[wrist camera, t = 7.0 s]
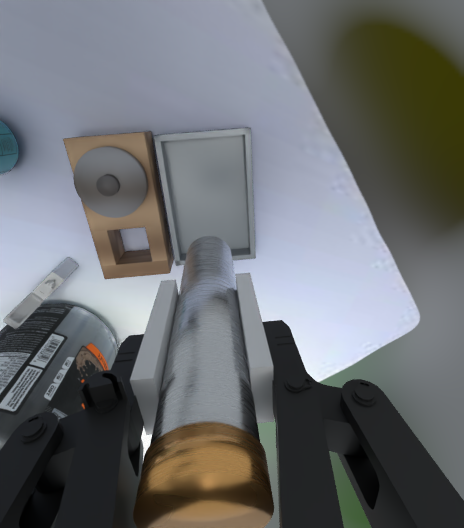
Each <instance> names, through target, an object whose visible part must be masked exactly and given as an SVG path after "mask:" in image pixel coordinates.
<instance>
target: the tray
mask: <svg viewBox="0 0 464 528" xmlns="http://www.w3.org/2000/svg"><path fill="white" fill-rule="evenodd" d="M154 141H155V147H156V153H157V159H158V164H159V170H160V176H161V182H162V188H163V193H164V199H165V205H166V211H167V216H168V222H169V228H170V234H171V240H172V245H173V251H174V257H175V263H176V266H177V265H185V260H186V255H187V250H188V248H189V246H190V245H191V243H192V242H194V241H195V240H196V239H198V238H200V237H204V236H214V237H218V238H220V239H222V240H223V241H225V242H226V243H227V245H228V246H229V248H230V250H231V254H232V260H243V259H254V258H256V256H255V230H254V205H253V179H252V154H251V128H235V129H223V130H210V131H198V132H185V133H173V134H160V135H155V136H154Z"/></svg>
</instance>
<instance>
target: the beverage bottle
mask: <svg viewBox="0 0 464 528" xmlns="http://www.w3.org/2000/svg"><path fill="white" fill-rule="evenodd" d="M18 155H19V150H18V144H17V141H16V139H15V137H14V135H13V133H12V132H11V130H10V129H9V128H8V127H7V126H6V125H5V124H4V123H3V122H2V121H1V120H0V174H3V173H5V172H7V171H9V170H10V169H11V168H12V167H13V166H14V165H15V164H16V162H17V159H18ZM10 171H11V170H10Z"/></svg>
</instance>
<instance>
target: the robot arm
mask: <svg viewBox="0 0 464 528" xmlns="http://www.w3.org/2000/svg"><path fill="white" fill-rule="evenodd" d="M236 288H237V296H238V303H239V310H240V316H241V323H242V330H243V337H244V343H245V350H246V357H247V363H248V370H249V377H250V384H251V390H252V393H253V399H254V406H255V412H256V419H257V423H263V422H273V421H274V418H275V422H276V448H277V470H278V496H279V522H280V528H344V527H343V521H342V516H341V511H340V506H339V500H338V495H337V490H336V485H335V480H334V475H333V470H332V465H331V460H330V455H329V451H332V452H337V454H338V456H339V458H340V460H341V462H342V465H343V467H344V469H345V471H346V473H347V475H348V477H349V480H350V482H351V484H352V486H353V488H354V490H355V492H356V495H357V497H358V499H359V501H360V503H361V506H362V508H363V510H364V512H365V514H366V516H367V518H368V521H369V523H370V525H371V527H372V528H464V501H463V499H462V498H461V497H460V495H459V494H458V492H457V491H456V490H455V488H454V487H453V486H452V484H451V483H450V482H449V480H448V479H447V478H446V476H445V475H444V473H443V472H442V471H441V469H440V468H439V467H438V465H437V464H436V463H435V461H434V460H433V459H432V457H431V456H430V455H429V453H428V452H427V450H426V449H425V448H424V446H423V445H422V444H421V442H420V441H419V440H418V438H417V437H416V436H415V434H414V433H413V432H412V430H411V429H410V427H409V426H408V425H407V424H406V422H405V421H404V419H403V418H402V417H401V415H400V414H399V413H398V411H397V410H396V409H395V407H394V406H393V404H392V403H391V402H390V400H389V399H388V398H387V396H386V395H385V394H384V392H383V391H382V390H381V389H380V388H378V386H376V385H374V384H372V383H371V382H368V381H365V380H361V379H357V380H351V381H348V382H346V383H345V384H344V386H343V387H342V388H338V387H332V386H327V385H323V384H321V383H319V382H316V381H315V380H314V379H313V378H312V377H311V376H310V375H309V374H308V373H307V372H306V370H305V367H304V365H303V362H302V359H301V357H300V354H299V351H298V349H297V346H296V344H295V341H294V338H293V336H292V333H291V330H290V328H289V326H288V325H287V324H285V323H284V322H283V321H282V320H278V321H268V322H262V319H261V315H260V311H259V307H258V303H257V299H256V295H255V291H254V287H253V283H252V279H251V276H250V273H243V274H236ZM178 297H179V295H178V289H177V284H176V280H167V281H161V283H160V287H159V290H158V293H157V296H156V299H155V302H154V305H153V309H152V312H151V315H150V318H149V321H148V324H147V328H146V331H145V334H141V335H131V336H128V337H127V338H126V339H125V341H124V342H123V343H122V344H121V346H120V348H119V350H118V353H117V355H116V358H115V360H114V363H113V365H112V368H111V370H105V371H101V372H98V373H95V374H93V375H92V376H90V377H88V378H87V379H86V380H85V381H84V382H83V383H82V384H81V386H80V387H79V389H78V393H79V395H80V397H81V400H82V402H83V404H84V407H85V409H84V410H81V411H79V412H77V413H74V414H72V415H69V416H66V417H64V418H61V419H58V417H57V416H56V415H55V414H54V413H51V412H43V413H38V414H36V415H34V416H32V417H30V418H28V419H27V420H25V421H24V422H23V423H21V424H20V425H19V426H18V427H17V428H16V430H15V431H14V432H13V433H12V434H11V436H10V437H9V439H8V440H7V441H6V443H5V444H4V446H3V447H2V448H1V450H0V528H137V527H136V525H135V523H134V520H133V511H134V506H135V501H136V496H137V491H138V486H139V481H140V476H141V471H142V466H143V443H142V440H141V435H142V431H143V426H144V428H145V431H146V435H150V434H152V433H153V428H154V423H155V418H156V412H157V407H158V402H159V397H160V391H161V386H162V381H163V376H164V370H165V365H166V360H167V355H168V349H169V344H170V339H171V333H172V328H173V323H174V318H175V312H176V307H177V302H178Z"/></svg>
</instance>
